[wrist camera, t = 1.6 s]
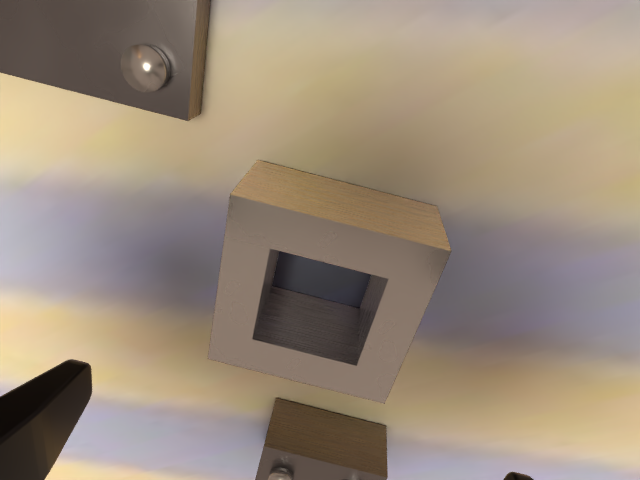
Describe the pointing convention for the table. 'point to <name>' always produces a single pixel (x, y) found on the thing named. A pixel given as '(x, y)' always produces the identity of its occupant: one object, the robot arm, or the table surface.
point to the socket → (334, 248)
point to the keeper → (111, 49)
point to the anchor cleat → (321, 446)
